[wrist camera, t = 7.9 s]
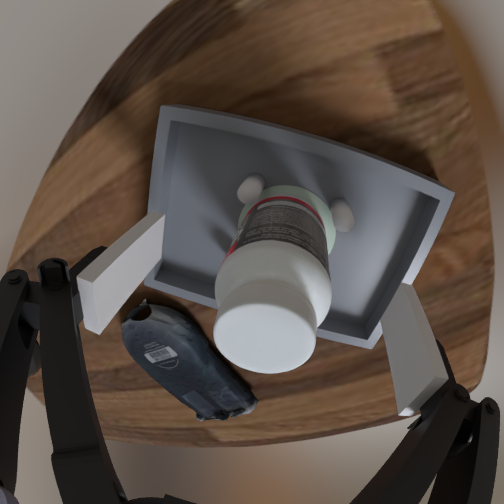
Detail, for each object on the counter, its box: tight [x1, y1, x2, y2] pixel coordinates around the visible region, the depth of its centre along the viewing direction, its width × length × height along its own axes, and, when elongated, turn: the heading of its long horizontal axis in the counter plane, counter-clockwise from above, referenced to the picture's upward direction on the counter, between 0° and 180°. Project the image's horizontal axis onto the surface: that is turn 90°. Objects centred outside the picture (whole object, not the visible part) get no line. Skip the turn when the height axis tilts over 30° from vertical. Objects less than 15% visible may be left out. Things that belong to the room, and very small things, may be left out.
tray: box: [144, 104, 455, 349], centre depth 19 cm, size 18×13×4 cm
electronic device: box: [121, 298, 259, 421], centre depth 28 cm, size 9×6×15 cm
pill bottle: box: [213, 194, 332, 373], centre depth 15 cm, size 5×5×10 cm
